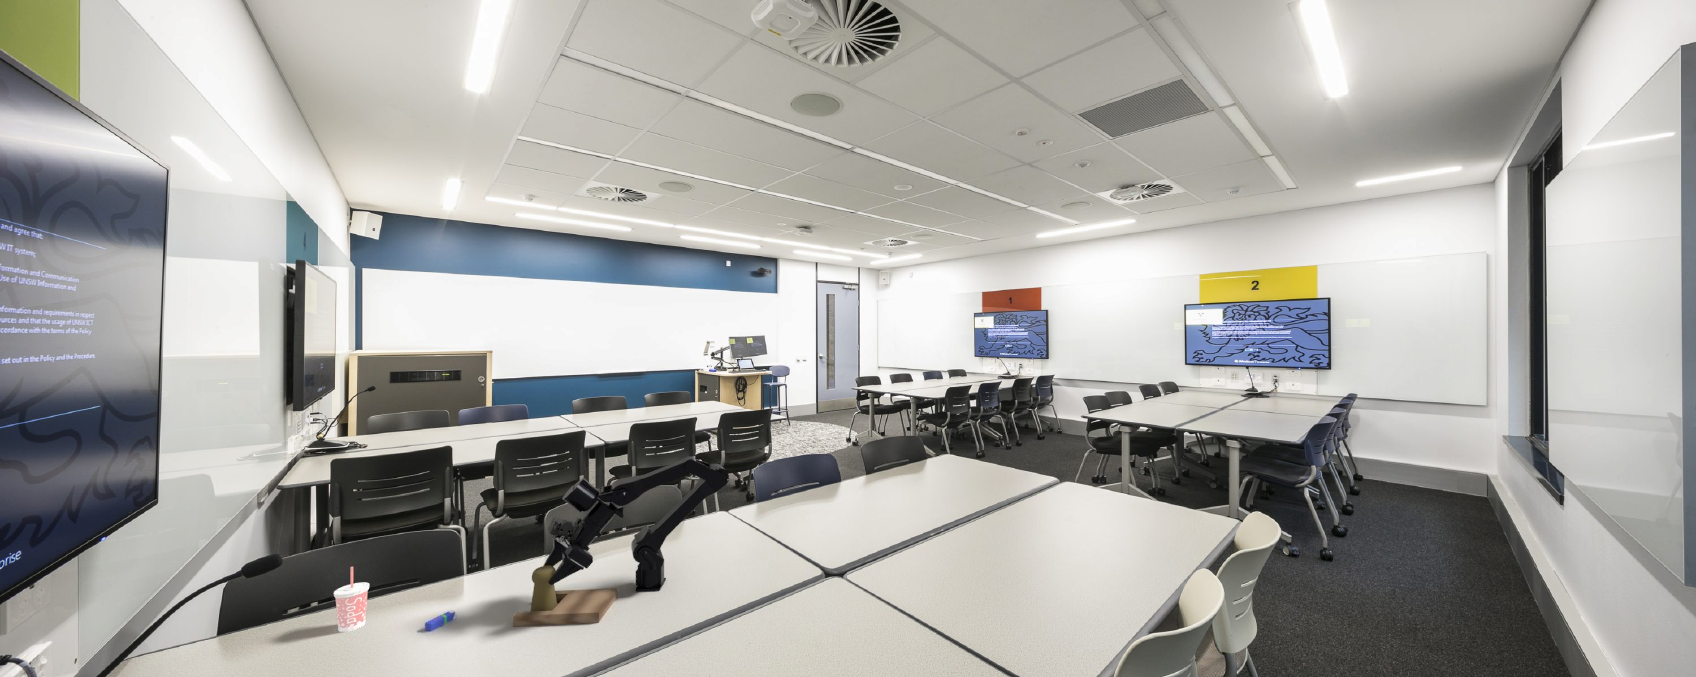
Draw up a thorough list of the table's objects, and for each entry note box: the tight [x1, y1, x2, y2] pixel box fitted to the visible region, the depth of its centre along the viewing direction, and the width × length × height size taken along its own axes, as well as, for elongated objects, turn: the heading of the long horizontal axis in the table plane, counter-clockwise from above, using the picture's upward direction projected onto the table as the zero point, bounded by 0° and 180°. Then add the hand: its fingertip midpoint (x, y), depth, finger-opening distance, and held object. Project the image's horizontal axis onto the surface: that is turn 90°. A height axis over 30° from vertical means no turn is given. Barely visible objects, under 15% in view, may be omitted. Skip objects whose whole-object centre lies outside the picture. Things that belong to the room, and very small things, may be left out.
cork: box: [529, 565, 558, 612], centre depth 129 cm, size 6×6×11 cm
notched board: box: [512, 588, 618, 627], centre depth 130 cm, size 20×12×2 cm, turn 95°
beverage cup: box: [333, 566, 370, 633], centre depth 123 cm, size 6×6×14 cm
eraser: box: [424, 609, 457, 632], centre depth 124 cm, size 2×6×2 cm, turn 164°
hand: (546, 577), depth 130 cm, fingers open, 9 cm apart
